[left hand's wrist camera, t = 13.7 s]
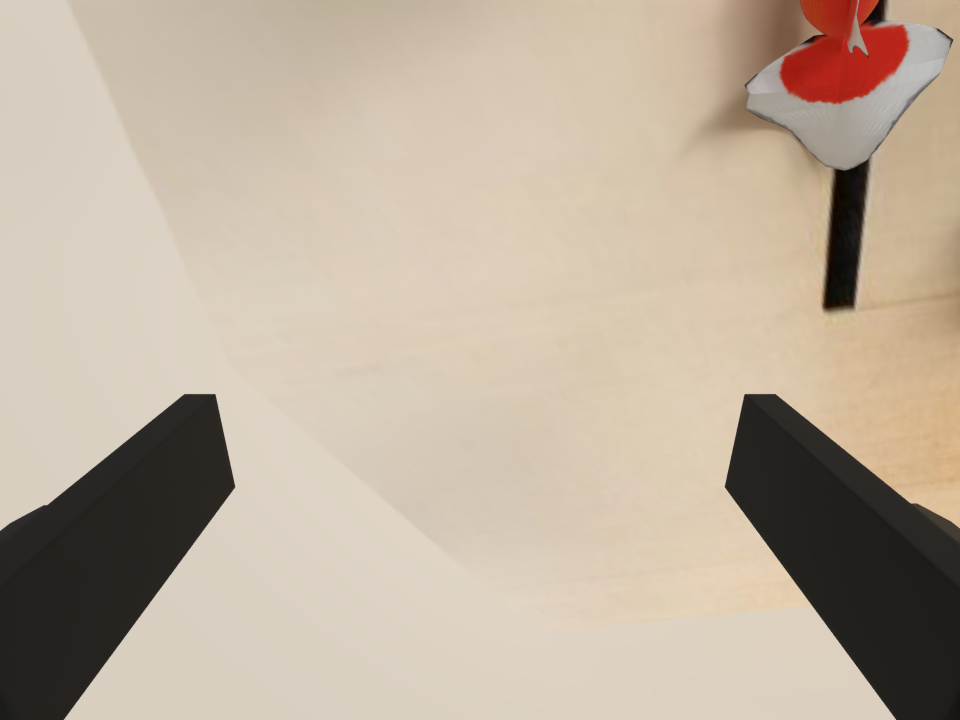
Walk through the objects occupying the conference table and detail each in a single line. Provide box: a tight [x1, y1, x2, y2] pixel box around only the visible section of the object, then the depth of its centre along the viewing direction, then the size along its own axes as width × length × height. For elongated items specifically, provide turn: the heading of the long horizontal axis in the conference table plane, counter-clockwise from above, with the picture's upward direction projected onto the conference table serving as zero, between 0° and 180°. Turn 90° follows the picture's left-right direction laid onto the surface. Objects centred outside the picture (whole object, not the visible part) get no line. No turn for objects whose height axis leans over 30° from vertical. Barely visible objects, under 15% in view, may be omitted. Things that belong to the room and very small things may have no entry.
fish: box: [745, 0, 953, 170], centre depth 30 cm, size 11×16×10 cm
